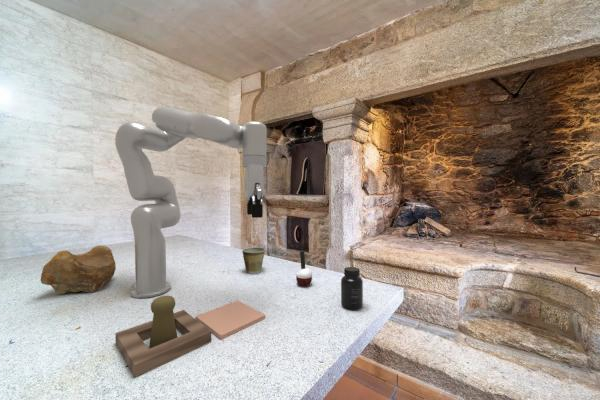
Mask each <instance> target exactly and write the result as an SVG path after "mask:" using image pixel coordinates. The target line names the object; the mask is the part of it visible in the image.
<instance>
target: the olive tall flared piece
mask: <svg viewBox="0 0 600 400" xmlns="http://www.w3.org/2000/svg"><path fill="white" fill-rule="evenodd" d="M175 307H176V300H175V297H174V296H172V295H160V296H158V297H156V298H154V299H153V300H152V302H151V303H150V310H151V313H152V314H153V315H152V320H153V322H152V330H151V337H150V338H149V347H148V348H149V349H150V348H153V347H155V346H158V345H160V344H162V343H165V342H167V341H170V340H172V339H175V338H177V337H178V332H177V328H176V325H175V319H174V313H175V312H174V309H175Z"/></svg>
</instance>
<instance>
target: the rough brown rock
mask: <svg viewBox="0 0 600 400" xmlns="http://www.w3.org/2000/svg"><path fill="white" fill-rule="evenodd" d="M116 269H117V268H116V260H115V258H114V255H113V251H112V249H111V248H110V247H108V246H107V245H95V246H94V247H92V248H91V249H90V250H89V251H87V252H86V253H80V254H73V253H71V252H70V251H68V250H65V249H64V250H60V251H58V252H57V253H56V254H55V255H54V256H53V257H51V259H50V260H49V261H48V262H47V263H45V265H44V266H43V268H42V272H41V274H40V283H41V284H43V285H46V286H51V287H52V289H53V291H55V293H56V294H58V295H65V293H66V294H67V293H70V292H71V293H78V292H85V293H91V292H92V293H96V291H97V290H99V289H101V287H102V286H104V285H105V283H106V282H109V281H110V280H112V279H113V277H114V275H115V272H116ZM92 293H91V294H92Z"/></svg>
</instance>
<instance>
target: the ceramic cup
mask: <svg viewBox="0 0 600 400" xmlns="http://www.w3.org/2000/svg"><path fill="white" fill-rule="evenodd" d="M265 253H266V249H265V248H263V247H257V246H256V247H255V246H251V247H246V248H243V249H242V257H243V260H244V261H243V262H244V269H245V272H246V273H247V274H249V275H256V274H259V273H261V272H262V269H263V268H262V267H263V262H264V257H265Z"/></svg>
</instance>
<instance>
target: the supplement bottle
mask: <svg viewBox="0 0 600 400" xmlns="http://www.w3.org/2000/svg"><path fill="white" fill-rule="evenodd" d="M343 269H344V271H343V275H344V276H342V277H341V279H340V280H341V281H340V287H341V288H340V304H341V307H343V309H345V310H349V311H359V310H361V309H362V308H363V305H364V304H363V303H364V299H363V297H364V294H363V291H364V289H363V288H364V284H363V283H364V281H363V279H362V277H361V275H360V268H359V267H354V266H348V267H347V266H346V267H345V268H343Z"/></svg>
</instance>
